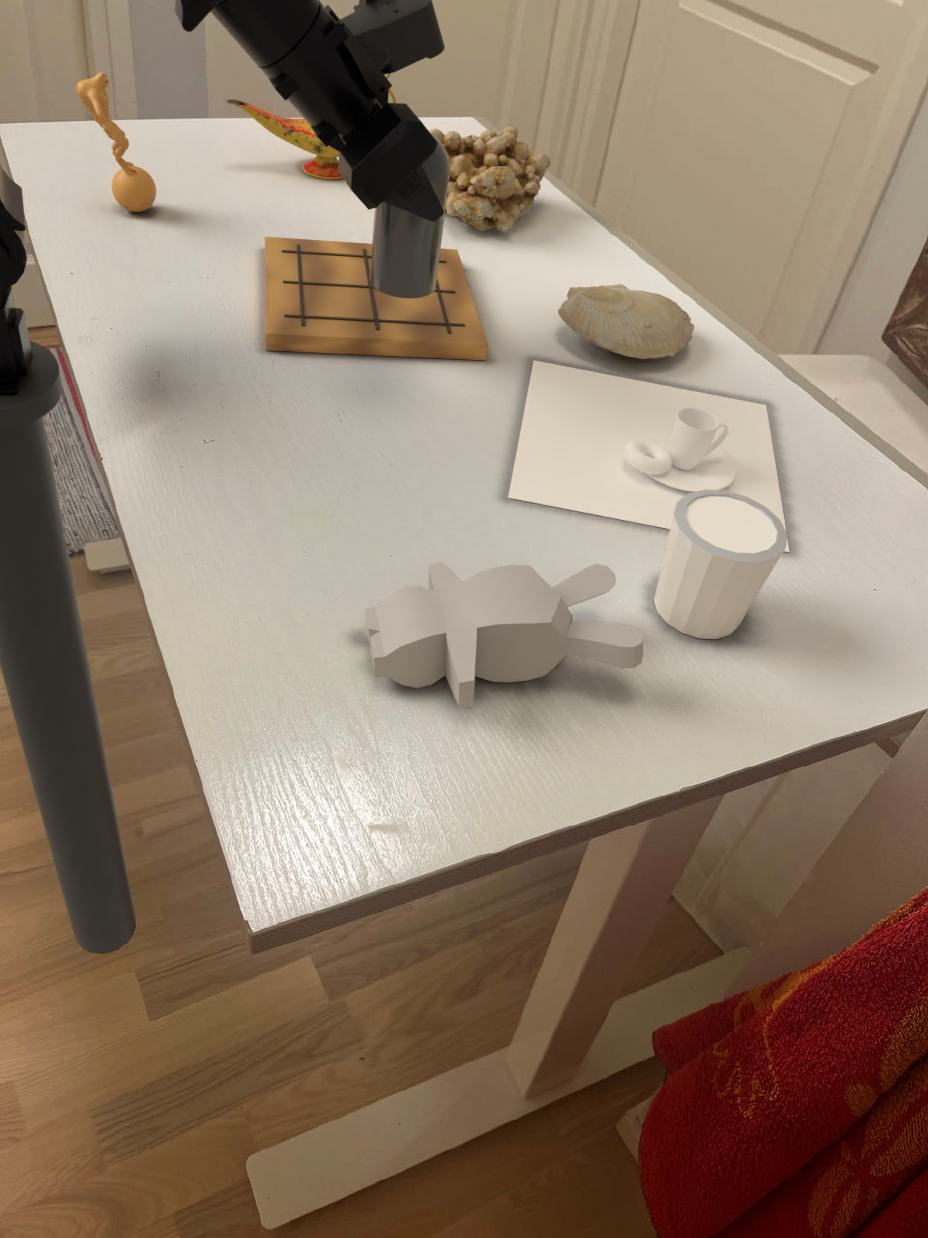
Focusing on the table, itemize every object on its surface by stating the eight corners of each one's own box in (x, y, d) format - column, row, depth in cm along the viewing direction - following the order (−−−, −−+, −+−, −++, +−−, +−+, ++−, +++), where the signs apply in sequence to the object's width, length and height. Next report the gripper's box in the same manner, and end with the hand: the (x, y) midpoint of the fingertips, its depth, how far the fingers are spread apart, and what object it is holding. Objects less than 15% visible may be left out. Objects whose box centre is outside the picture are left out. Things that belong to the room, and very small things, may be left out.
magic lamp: (221, 156, 107) (217, 42, 100) (383, 159, 113) (390, 51, 105) (232, 181, 103) (228, 64, 95) (399, 183, 108) (408, 72, 101)
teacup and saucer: (619, 483, 73) (632, 436, 70) (621, 425, 78) (634, 379, 76) (737, 506, 72) (756, 459, 70) (731, 446, 78) (748, 401, 75)
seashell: (665, 388, 84) (675, 357, 82) (536, 345, 86) (543, 314, 84) (696, 334, 92) (706, 305, 90) (577, 296, 94) (584, 266, 92)
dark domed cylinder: (404, 305, 78) (420, 149, 70) (355, 278, 80) (365, 124, 72) (449, 287, 81) (469, 137, 73) (401, 262, 83) (415, 113, 75)
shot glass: (671, 652, 60) (705, 565, 56) (627, 577, 65) (655, 491, 60) (769, 640, 62) (810, 555, 58) (719, 568, 67) (754, 484, 62)
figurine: (166, 227, 93) (155, 88, 85) (99, 230, 91) (81, 88, 83) (148, 191, 98) (137, 57, 90) (84, 193, 96) (67, 56, 88)
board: (265, 350, 80) (265, 332, 78) (264, 251, 92) (264, 234, 91) (485, 360, 83) (488, 343, 82) (455, 264, 96) (457, 247, 95)
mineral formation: (390, 193, 106) (501, 168, 113) (462, 265, 100) (573, 235, 107) (400, 119, 99) (516, 97, 106) (477, 192, 94) (595, 165, 101)
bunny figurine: (357, 554, 57) (608, 525, 59) (362, 617, 61) (598, 587, 63) (379, 676, 50) (661, 638, 53) (383, 739, 54) (646, 701, 56)
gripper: (422, -25, 57) (556, 173, 68) (340, -95, 69) (466, 83, 81) (284, 117, 60) (435, 285, 71) (229, 25, 72) (365, 181, 83)
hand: (427, 201), depth 77 cm, fingers closed on dark domed cylinder, 5 cm apart
